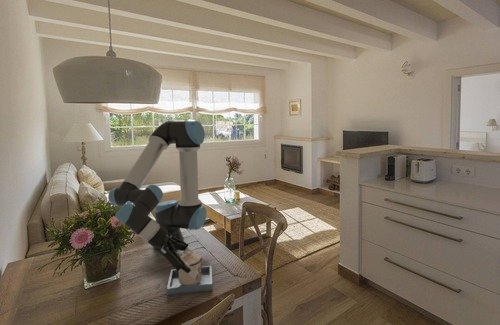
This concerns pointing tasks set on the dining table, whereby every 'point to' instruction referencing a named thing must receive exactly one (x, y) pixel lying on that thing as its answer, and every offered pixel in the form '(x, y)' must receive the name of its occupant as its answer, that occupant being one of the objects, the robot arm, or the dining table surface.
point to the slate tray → (202, 286)
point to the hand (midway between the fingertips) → (196, 266)
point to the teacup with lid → (194, 262)
